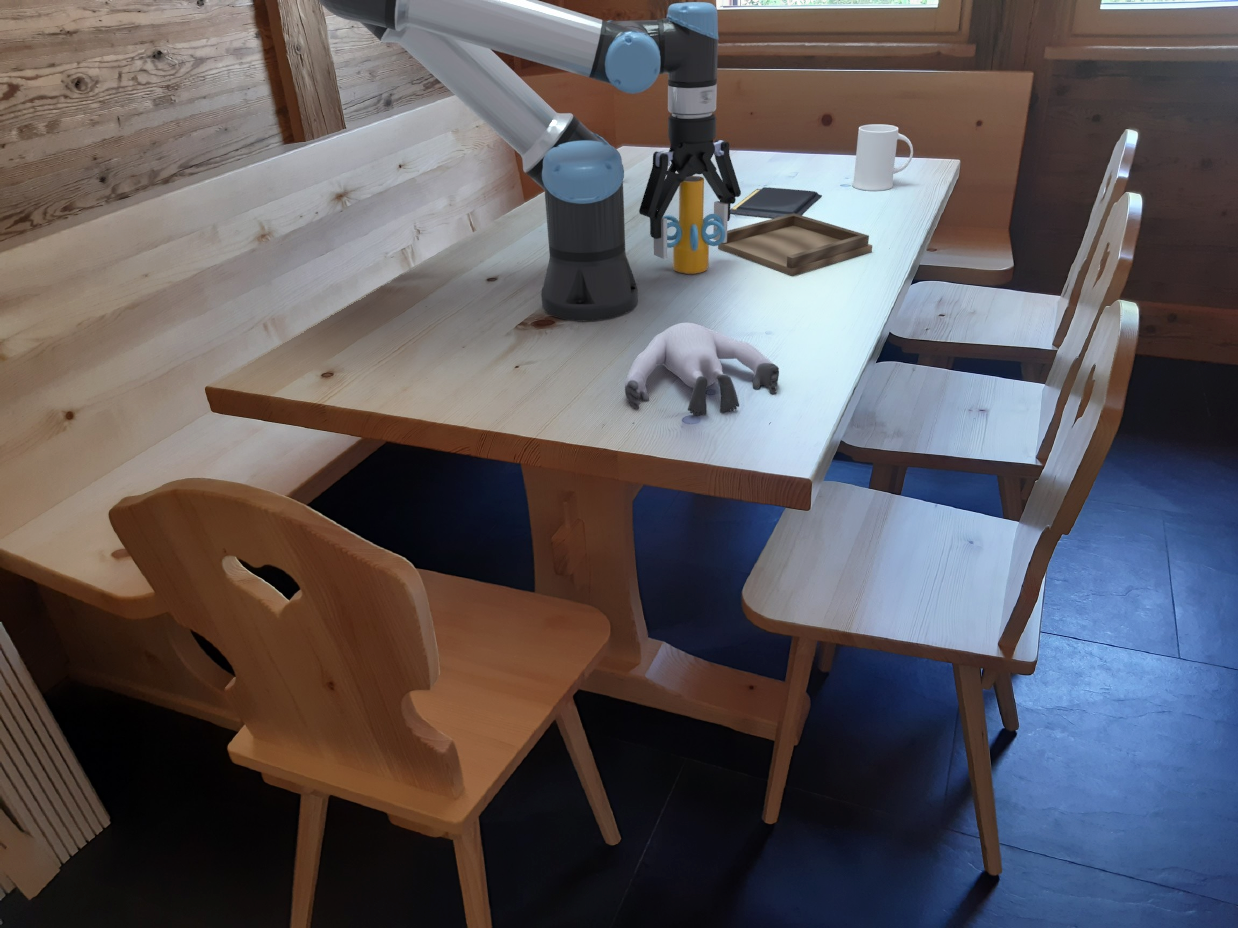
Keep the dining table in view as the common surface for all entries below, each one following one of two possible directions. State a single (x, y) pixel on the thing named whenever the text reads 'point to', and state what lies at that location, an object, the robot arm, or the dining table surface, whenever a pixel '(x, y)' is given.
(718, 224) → the cylinder
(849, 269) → the dining table surface
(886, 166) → the mug
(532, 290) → the dining table surface
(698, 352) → the yeti figurine
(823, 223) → the open-sided tray
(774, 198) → the wallet
